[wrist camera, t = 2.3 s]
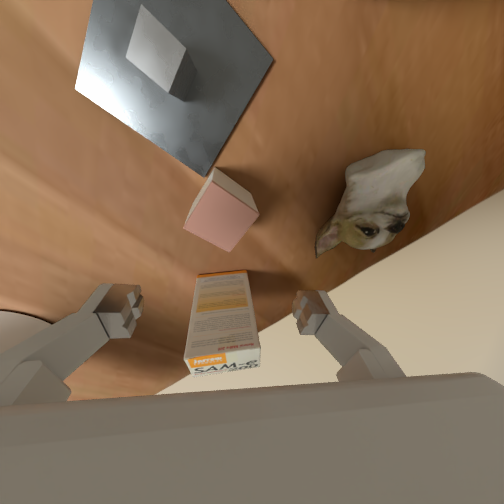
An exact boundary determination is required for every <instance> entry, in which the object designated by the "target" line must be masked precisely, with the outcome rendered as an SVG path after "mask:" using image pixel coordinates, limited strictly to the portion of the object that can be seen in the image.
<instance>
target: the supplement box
mask: <svg viewBox="0 0 504 504" xmlns="http://www.w3.org/2000/svg"><path fill="white" fill-rule="evenodd" d="M260 349H261V347H260V342H259V337H258V331H257V325H256V319H255V314H254V308H253V302H252V297H251V291H250V286H249V280H248V275H247V271H246V270H241V271H233V272H224V273H214V274H204V275H198V276H197V280H196V286H195V292H194V298H193V305H192V311H191V317H190V323H189V330H188V336H187V342H186V348H185V354H184V361H185V363H186V364H187V366H188V368H189V370H190V372H191V374H192V376H193V377H197V376H204V375H211V374H217V373H223V372H229V371H236V370H242V369H249V368H255V367H260Z"/></svg>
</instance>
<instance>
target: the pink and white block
mask: <svg viewBox="0 0 504 504" xmlns="http://www.w3.org/2000/svg"><path fill="white" fill-rule="evenodd" d="M258 216H259V212H258V210H257V207H256V205H255V202H254V200H253V197H252V195H251V193H250V192H248V191H247V190H246V189H244V188H243V187H242V186H240V185H239V184H237V183H236V182H235V181H233V180H232V179H231V178H229V177H228V176H227V175H225V174H224V173H223V172H221V171H220V170H219V169H217V168H216V167H214V169H213V170H212V172H211V174H210V176H209V177H208V179H207V181H206V182H205V184H204V186H203V187H202V189H201V191H200V192H199V194H198V196H197V197H196V199H195V201H194V202H193V204H192V207H191V209H190V212H189V214H188V217H187V219H186V222H185V225H184V227H183V229H185V230H187V231H189V232H191V233H193V234H195V235H197V236H199V237H201V238H203V239H204V240H206V241H208V242H210V243H212V244H214V245H216V246H218V247H220V248H222V249H224V250H226V251H227V252H230V251H231V250H232V249H233V247H234V246H235V245H236V244H237V242H238V241H239V240H240V239H241V237H242V236H243V235H244V234H245V232H246V231H247V230H248V229H249V227H250V226H251V225H252V224H253V222H254V221H255V220H256V219H257V218H258Z"/></svg>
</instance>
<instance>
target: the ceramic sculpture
mask: <svg viewBox="0 0 504 504" xmlns="http://www.w3.org/2000/svg"><path fill="white" fill-rule="evenodd" d="M425 153H426V151H425V150H423V149H402V150H397V149H395V150H385V151H381V152H379V153H377V154H375V155H373V156H370V157H367V158H364V159H362V160H360V161H357V162H354V163H352V164H350V165H349V166H348V167H347V168H346V171H345V179H346V183H347V187H346V190H345V192H344V194H343V197H342V199H341V202H340V204H339V206H338V208H337V211H336V213H335V215H334V216H332V217H331V218H330V219H329V220H328V221H327V222H326V223H325V224H324V225H323V226H322V227H321V229H320V230H319V232H318V234H317V236H316V241H315V253H316V258H318V257H319V256H320V255H321V254H322V253H324V252H325V251H328V250H331V249H333V248H335V247H336V246H337V245H338V244H339V243H340V242H341V241H343V242H345V243H347V244H348V245H349V246H351V247H353V248H356V249H364V250H365V249H370V250H371V252H373V253H374V252H375V250H376V248H378V247H381V246H384V245H386V244H388V243H390V242H391V241H392V240H393V239H394V237H395V235H396V234H398V233H399V232H400V231H401V230H402V229H403V228H404V226H405V223H406V222H407V221H408V219H409V217H410V212H409V211H408V207H407V206H406V195H407V193H408V191H409V189H410V187H411V186H412V185H413V184H414V182H415V181H416V180H417V179H418V178H419V177H420V175H421V174H422V172H423V170H424V168H425V161H424V156H425Z"/></svg>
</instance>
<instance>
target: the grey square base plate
mask: <svg viewBox="0 0 504 504" xmlns="http://www.w3.org/2000/svg"><path fill="white" fill-rule="evenodd" d="M272 61H273V58H272V57H271V56H270V54H269V53H268V52H267V51H266V50H265V48H264V47H263V46H262V45H261V43H260V42H259V41H258V40H257V38H256V37H255V36H254V35H253V33H252V32H251V31H250V30H249V28H248V27H247V26H246V25H245V24H244V22H243V21H242V20H241V19H240V17H239V16H238V15H237V14H236V12H235V11H234V10H233V9H232V7H231V6H230V5H229V4H228V2H227V1H226V0H93V4H92V9H91V14H90V19H89V24H88V29H87V33H86V38H85V43H84V48H83V53H82V58H81V62H80V67H79V72H78V77H77V82H76V87H75V89H76V90H77V91H79V92H80V93H82V94H83V95H85V96H86V97H88V98H89V99H90V100H92V101H93V102H95V103H96V104H98V105H99V106H101V107H102V108H104V109H105V110H106V111H108V112H109V113H111V114H112V115H114V116H115V117H117V118H118V119H119V120H121V121H122V122H124V123H125V124H127V125H128V126H130V127H131V128H133V129H134V130H135V131H137V132H138V133H140V134H141V135H143V136H144V137H146V138H147V139H149V140H150V141H151V142H153V143H154V144H156V145H157V146H159V147H160V148H162V149H163V150H165V151H166V152H167V153H169V154H170V155H172V156H173V157H175V158H176V159H178V160H179V161H181V162H182V163H183V164H185V165H186V166H188V167H189V168H191V169H192V170H194V171H195V172H197V173H198V174H199V175H201V176H202V177H205V175H206V174H207V172H208V170H209V168H210V167H211V165H212V163H213V162H214V160H215V158H216V156H217V155H218V153H219V151H220V150H221V148H222V146H223V145H224V143H225V141H226V139H227V138H228V136H229V134H230V133H231V131H232V129H233V127H234V126H235V124H236V122H237V121H238V119H239V117H240V115H241V114H242V112H243V110H244V109H245V107H246V105H247V104H248V102H249V100H250V98H251V97H252V95H253V93H254V92H255V90H256V88H257V86H258V85H259V83H260V81H261V80H262V78H263V76H264V75H265V73H266V71H267V69H268V68H269V66H270V64H271V63H272Z"/></svg>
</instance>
